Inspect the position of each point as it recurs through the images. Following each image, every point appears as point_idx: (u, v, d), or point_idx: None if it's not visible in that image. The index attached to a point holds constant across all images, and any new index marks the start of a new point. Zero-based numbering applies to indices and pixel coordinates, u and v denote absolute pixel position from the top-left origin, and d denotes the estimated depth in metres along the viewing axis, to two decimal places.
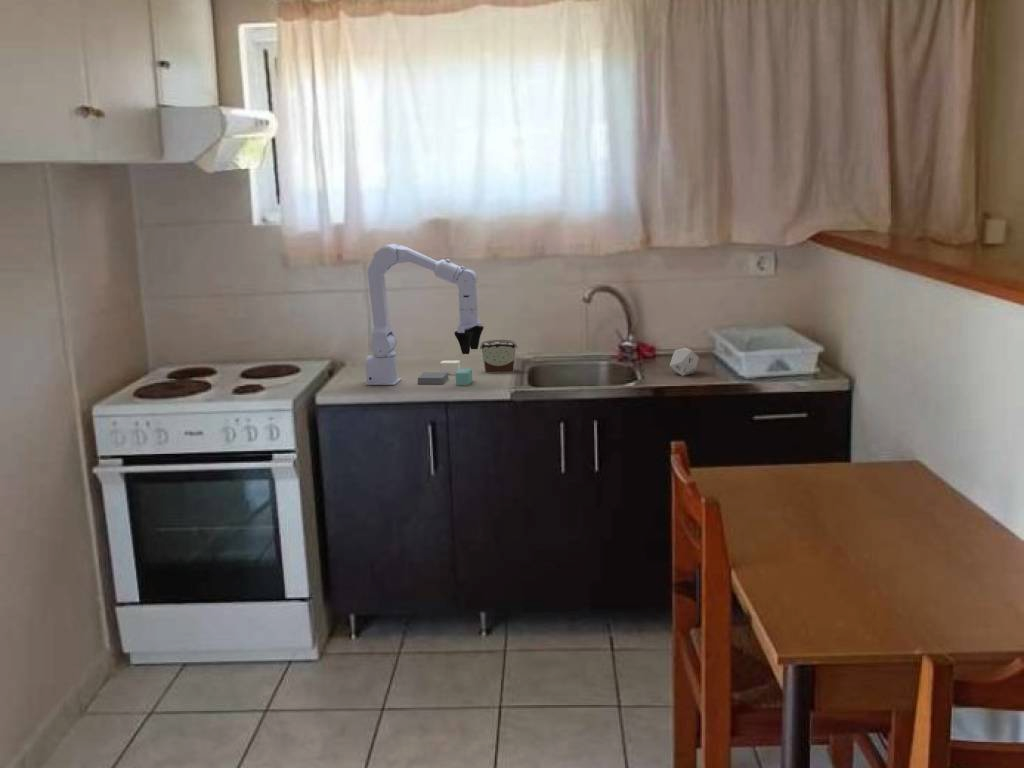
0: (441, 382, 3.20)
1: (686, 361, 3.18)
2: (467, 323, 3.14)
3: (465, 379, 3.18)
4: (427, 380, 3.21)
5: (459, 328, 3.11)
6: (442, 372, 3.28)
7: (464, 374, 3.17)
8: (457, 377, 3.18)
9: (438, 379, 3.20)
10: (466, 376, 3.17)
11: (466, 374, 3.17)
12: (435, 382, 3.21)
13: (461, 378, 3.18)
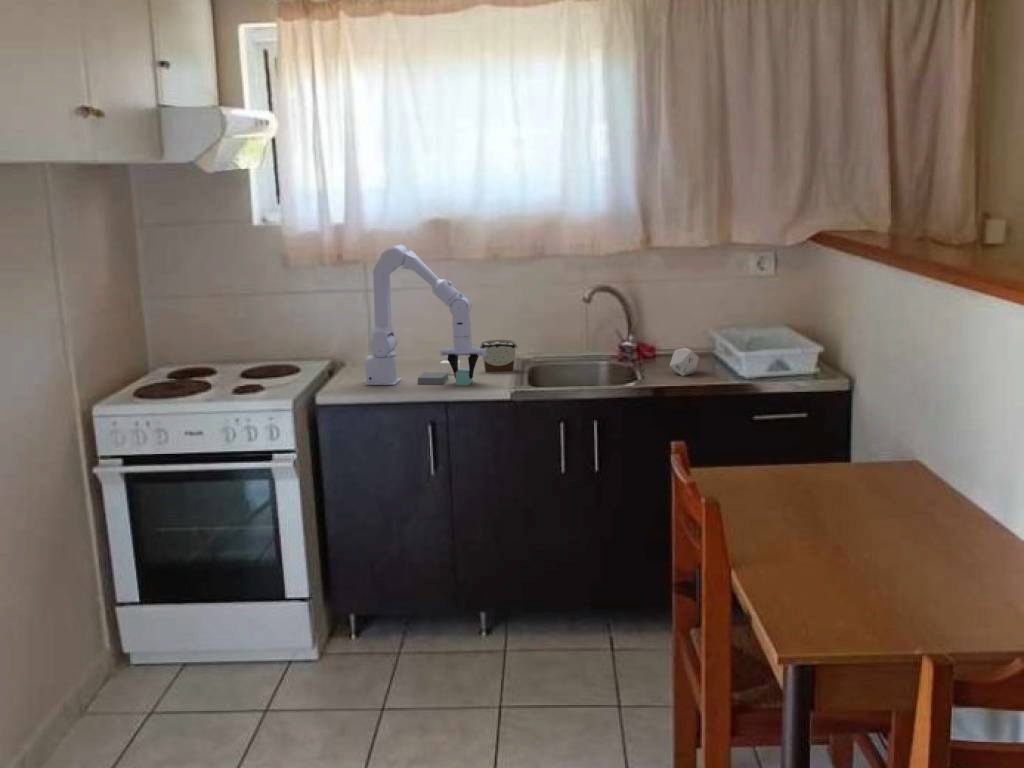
0: (441, 382, 3.20)
1: (686, 361, 3.18)
2: (453, 349, 3.19)
3: (465, 379, 3.18)
4: (427, 380, 3.21)
5: None
6: (442, 372, 3.28)
7: (464, 374, 3.17)
8: (457, 377, 3.18)
9: (438, 379, 3.20)
10: (466, 376, 3.17)
11: (466, 374, 3.17)
12: (435, 382, 3.21)
13: (461, 378, 3.18)
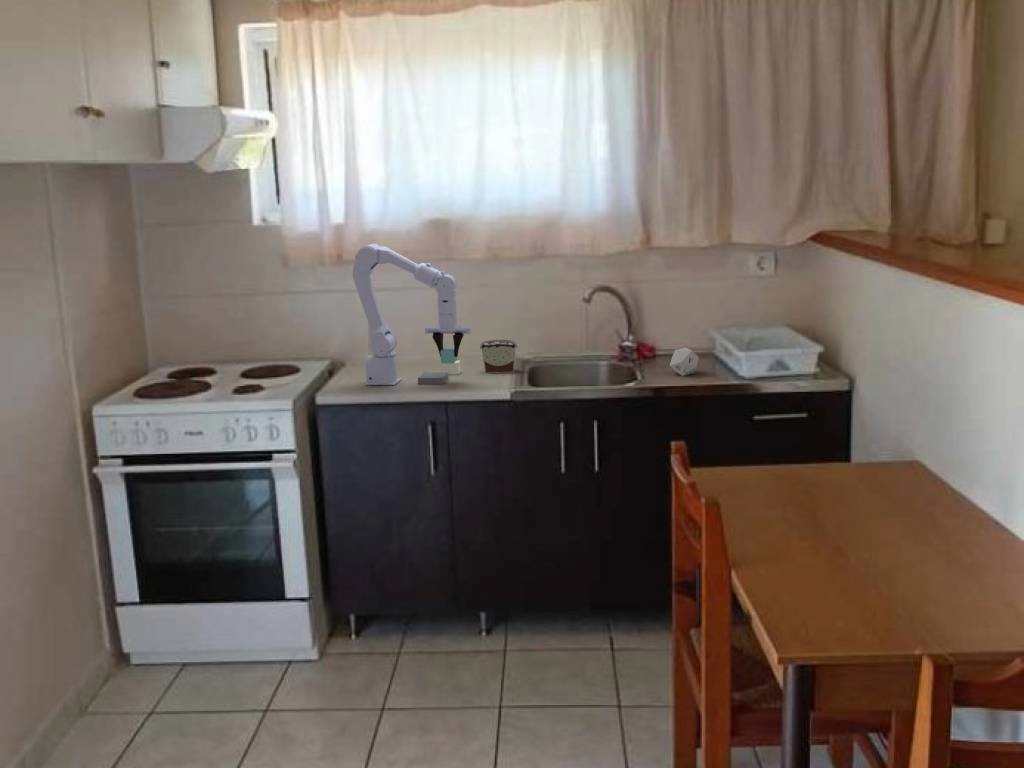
0: (441, 382, 3.20)
1: (686, 361, 3.18)
2: (438, 327, 3.19)
3: (450, 357, 3.18)
4: (427, 380, 3.21)
5: None
6: (442, 372, 3.28)
7: (449, 352, 3.17)
8: (442, 355, 3.18)
9: (438, 379, 3.20)
10: (451, 354, 3.17)
11: (451, 352, 3.17)
12: (435, 382, 3.21)
13: (446, 356, 3.18)
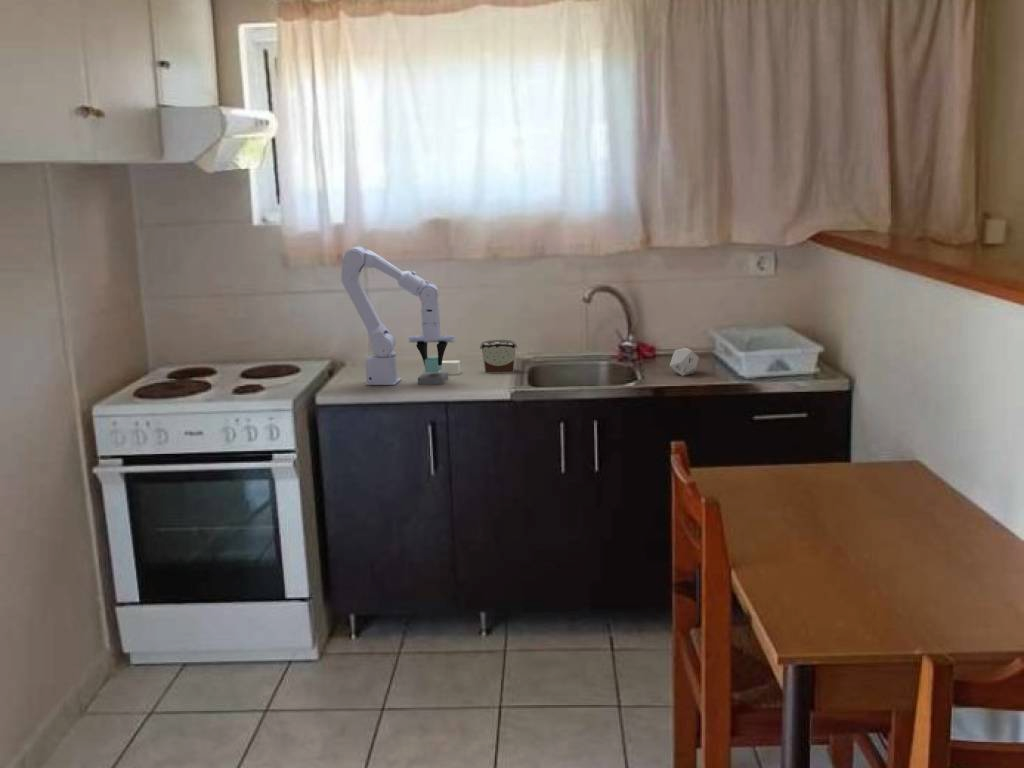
0: (441, 382, 3.20)
1: (686, 361, 3.18)
2: (422, 336, 3.21)
3: (434, 366, 3.21)
4: (427, 380, 3.21)
5: None
6: (442, 372, 3.28)
7: (433, 361, 3.20)
8: (426, 364, 3.21)
9: (438, 379, 3.20)
10: (435, 363, 3.20)
11: (435, 361, 3.20)
12: (435, 382, 3.21)
13: (430, 365, 3.21)
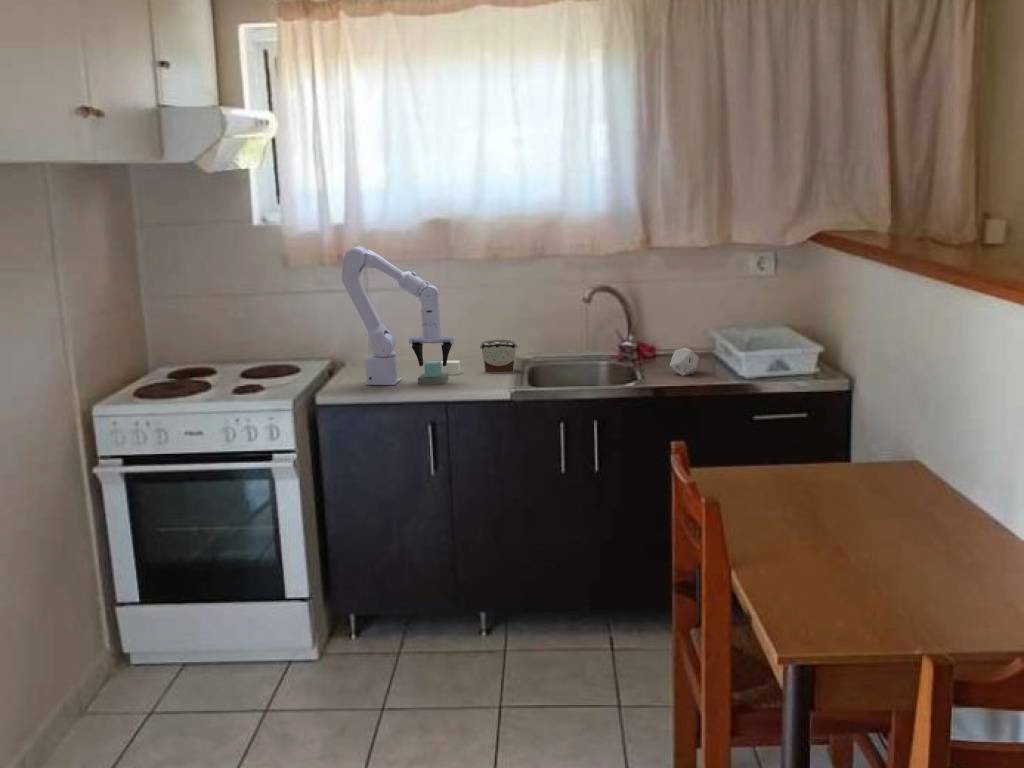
0: (441, 382, 3.20)
1: (686, 361, 3.18)
2: (422, 336, 3.21)
3: (434, 370, 3.21)
4: (427, 380, 3.21)
5: None
6: (442, 373, 3.28)
7: (433, 366, 3.21)
8: (426, 369, 3.21)
9: (438, 379, 3.20)
10: (435, 367, 3.21)
11: (435, 365, 3.21)
12: (435, 382, 3.21)
13: (430, 370, 3.21)
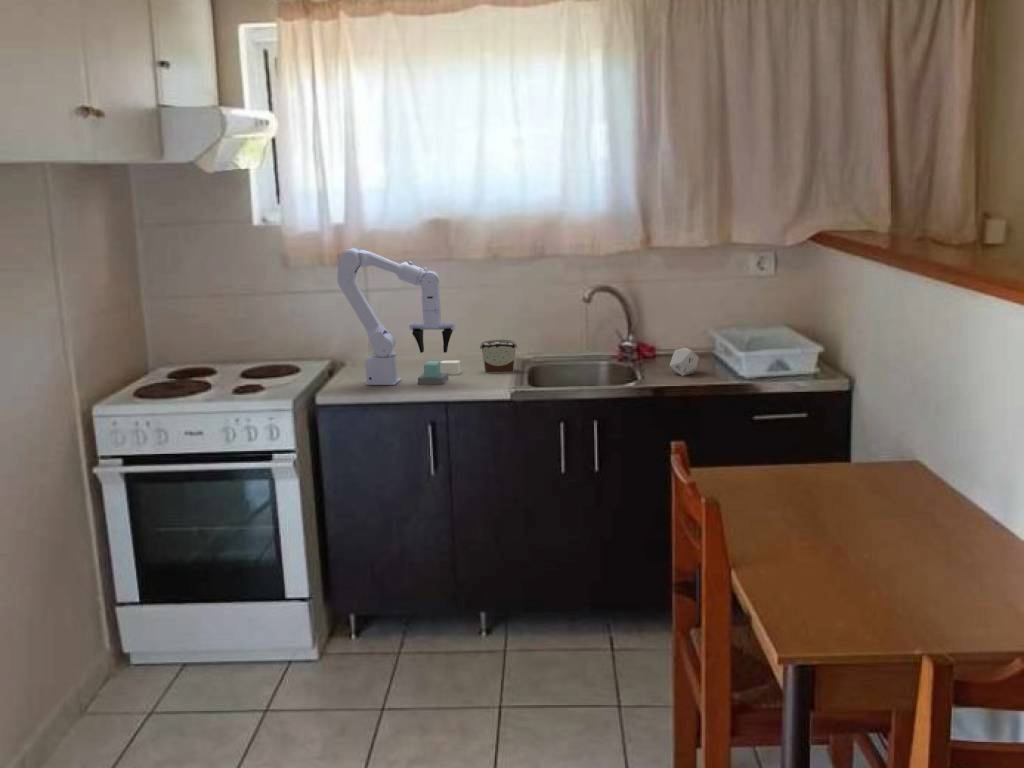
0: (441, 382, 3.20)
1: (686, 361, 3.18)
2: (423, 323, 3.21)
3: (433, 371, 3.21)
4: (427, 380, 3.21)
5: None
6: (442, 373, 3.28)
7: (432, 366, 3.20)
8: (425, 369, 3.21)
9: (438, 379, 3.20)
10: (434, 368, 3.21)
11: (434, 366, 3.20)
12: (435, 382, 3.21)
13: (429, 370, 3.21)
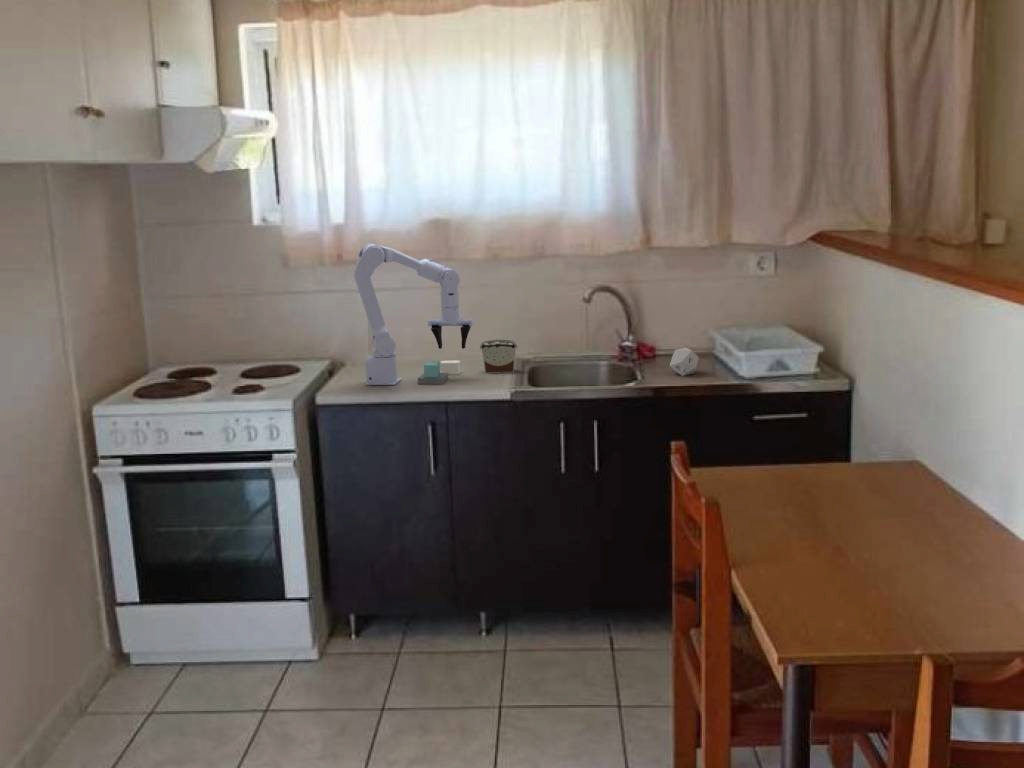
0: (441, 382, 3.20)
1: (686, 361, 3.18)
2: (441, 319, 3.26)
3: (433, 371, 3.21)
4: (427, 380, 3.21)
5: None
6: (442, 373, 3.28)
7: (432, 366, 3.20)
8: (425, 369, 3.21)
9: (438, 379, 3.20)
10: (434, 368, 3.21)
11: (434, 366, 3.20)
12: (435, 382, 3.21)
13: (429, 370, 3.21)
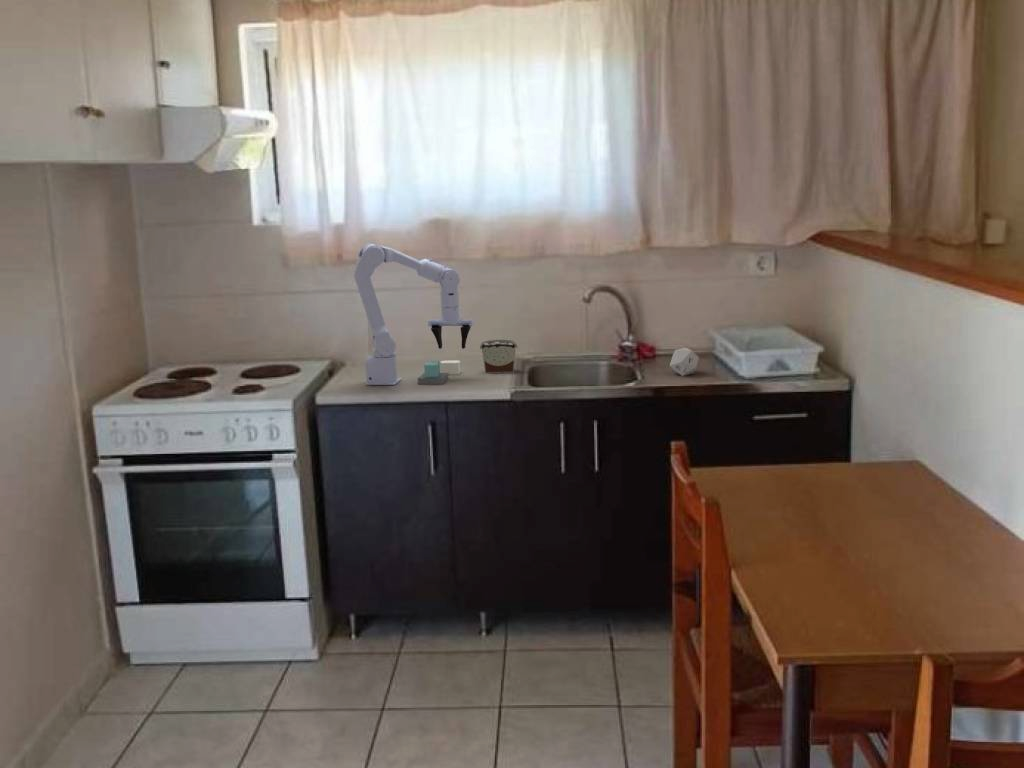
0: (441, 382, 3.20)
1: (686, 361, 3.18)
2: (441, 319, 3.26)
3: (434, 371, 3.21)
4: (427, 380, 3.21)
5: None
6: (442, 373, 3.28)
7: (433, 366, 3.20)
8: (426, 369, 3.21)
9: (438, 379, 3.20)
10: (435, 368, 3.21)
11: (435, 366, 3.20)
12: (435, 382, 3.21)
13: (430, 370, 3.21)
